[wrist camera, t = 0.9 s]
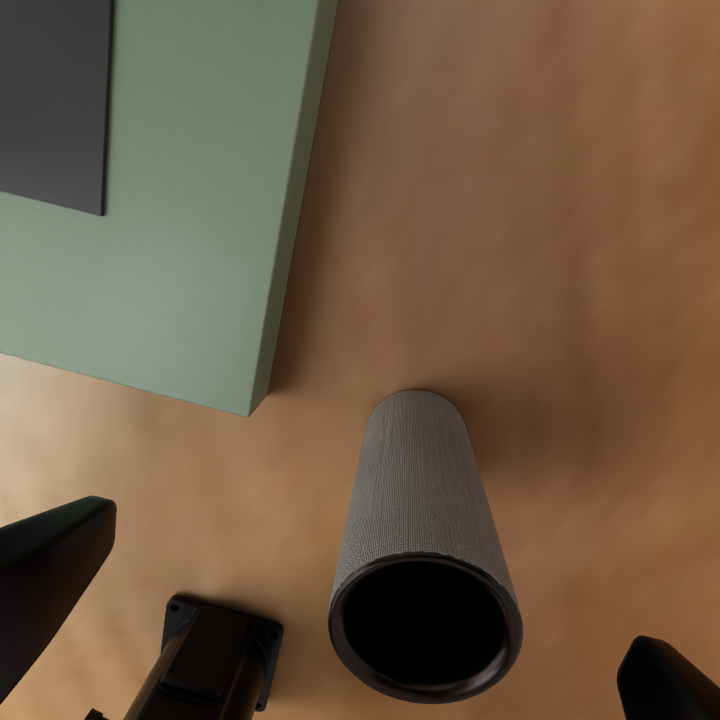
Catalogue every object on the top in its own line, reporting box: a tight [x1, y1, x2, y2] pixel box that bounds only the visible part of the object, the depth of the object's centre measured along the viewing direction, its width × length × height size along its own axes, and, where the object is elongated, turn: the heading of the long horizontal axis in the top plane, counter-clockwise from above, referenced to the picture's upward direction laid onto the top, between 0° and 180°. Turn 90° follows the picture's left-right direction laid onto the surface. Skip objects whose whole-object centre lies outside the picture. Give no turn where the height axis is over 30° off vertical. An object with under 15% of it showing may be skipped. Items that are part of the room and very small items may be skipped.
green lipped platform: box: [0, 0, 338, 417], centre depth 15 cm, size 16×16×6 cm
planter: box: [327, 389, 523, 704], centre depth 15 cm, size 4×4×10 cm
